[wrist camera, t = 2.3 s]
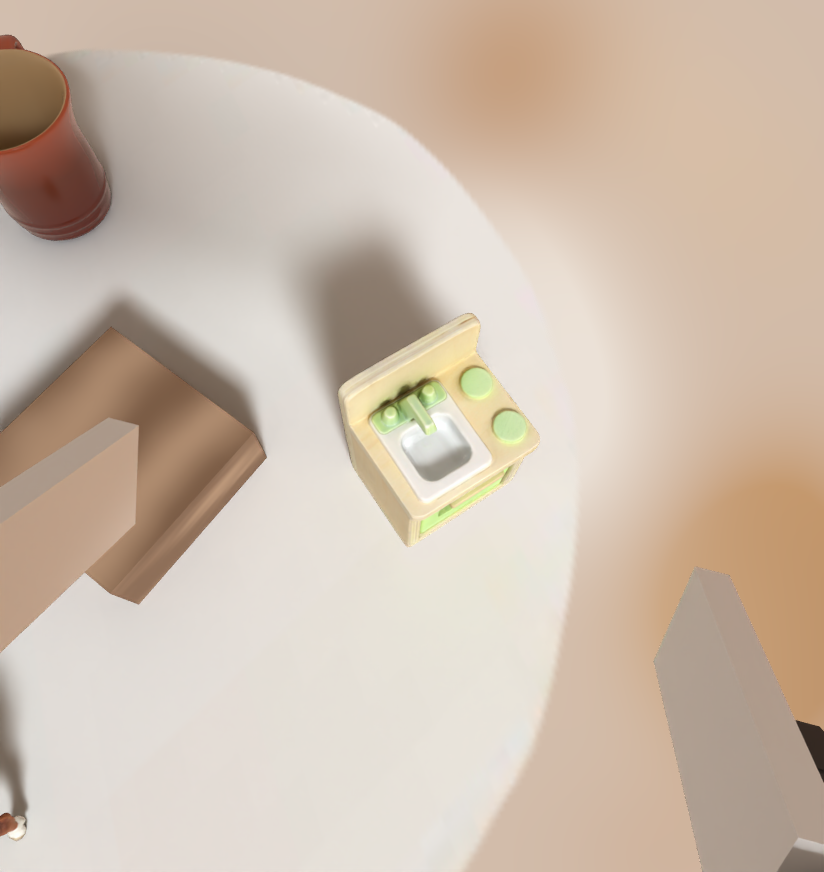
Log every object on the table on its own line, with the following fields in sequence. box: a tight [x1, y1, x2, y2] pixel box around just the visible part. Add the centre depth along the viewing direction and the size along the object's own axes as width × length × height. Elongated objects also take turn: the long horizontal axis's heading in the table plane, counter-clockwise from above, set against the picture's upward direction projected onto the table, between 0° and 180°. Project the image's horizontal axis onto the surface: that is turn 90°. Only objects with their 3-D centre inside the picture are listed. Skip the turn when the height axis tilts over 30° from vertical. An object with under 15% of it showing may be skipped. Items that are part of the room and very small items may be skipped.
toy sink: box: [338, 313, 540, 547], centre depth 40 cm, size 8×7×13 cm
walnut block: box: [0, 327, 267, 604], centre depth 44 cm, size 12×12×5 cm
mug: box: [0, 35, 111, 241], centre depth 49 cm, size 12×9×10 cm
